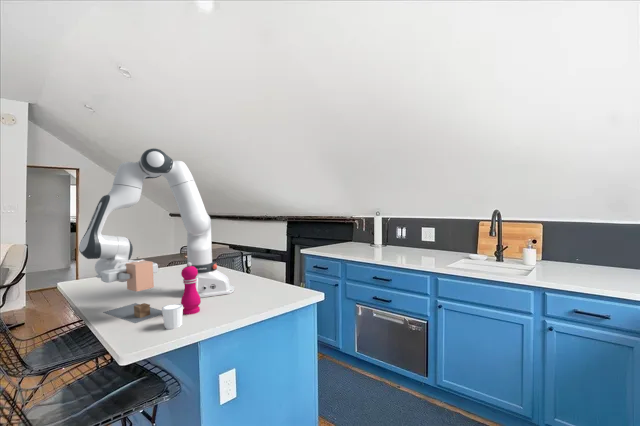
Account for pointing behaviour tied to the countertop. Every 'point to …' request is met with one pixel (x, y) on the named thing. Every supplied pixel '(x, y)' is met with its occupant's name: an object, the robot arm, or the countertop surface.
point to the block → (142, 310)
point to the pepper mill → (190, 290)
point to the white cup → (172, 315)
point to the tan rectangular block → (140, 275)
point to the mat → (132, 313)
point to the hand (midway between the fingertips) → (141, 274)
